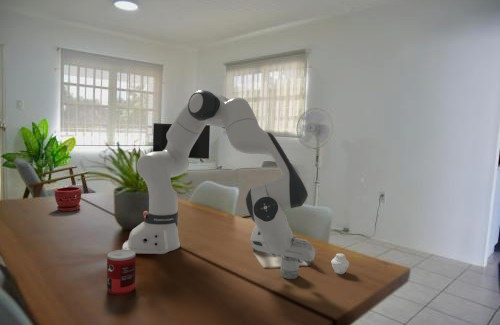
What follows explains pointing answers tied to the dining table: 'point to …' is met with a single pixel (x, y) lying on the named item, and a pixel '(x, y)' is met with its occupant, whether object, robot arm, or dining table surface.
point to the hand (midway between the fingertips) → (287, 257)
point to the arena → (273, 259)
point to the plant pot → (68, 198)
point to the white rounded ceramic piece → (340, 263)
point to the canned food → (121, 271)
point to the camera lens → (289, 267)
